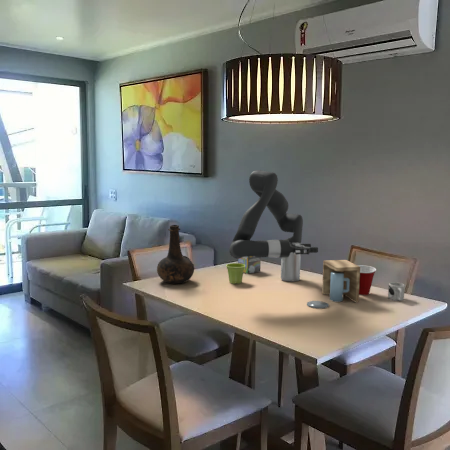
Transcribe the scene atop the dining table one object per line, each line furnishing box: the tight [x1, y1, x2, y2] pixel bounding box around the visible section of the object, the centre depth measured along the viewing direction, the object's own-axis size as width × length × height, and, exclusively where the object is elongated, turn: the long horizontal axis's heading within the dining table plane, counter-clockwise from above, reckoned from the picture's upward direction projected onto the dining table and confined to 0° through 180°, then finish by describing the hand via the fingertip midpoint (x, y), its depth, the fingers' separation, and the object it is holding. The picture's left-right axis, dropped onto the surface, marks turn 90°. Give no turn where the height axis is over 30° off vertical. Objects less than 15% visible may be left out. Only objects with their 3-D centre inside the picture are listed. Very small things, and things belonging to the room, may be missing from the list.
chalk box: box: [237, 256, 262, 275], centre depth 266 cm, size 9×9×15 cm
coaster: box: [306, 300, 330, 310], centre depth 207 cm, size 9×9×1 cm
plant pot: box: [225, 262, 245, 285], centre depth 242 cm, size 9×9×9 cm
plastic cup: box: [358, 264, 377, 296], centre depth 225 cm, size 11×11×12 cm
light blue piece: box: [329, 271, 350, 303], centre depth 215 cm, size 8×6×12 cm
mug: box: [387, 281, 406, 302], centre depth 216 cm, size 10×7×7 cm
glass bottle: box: [156, 224, 195, 285], centre depth 241 cm, size 18×18×28 cm
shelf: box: [321, 259, 360, 303], centre depth 218 cm, size 11×14×15 cm
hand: (314, 247), depth 210 cm, fingers open, 8 cm apart
